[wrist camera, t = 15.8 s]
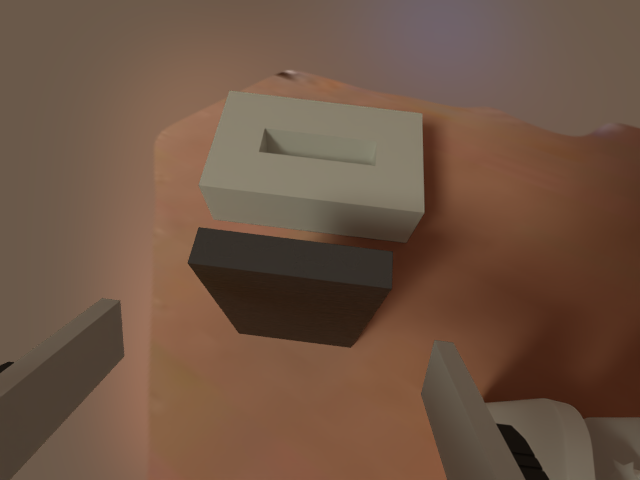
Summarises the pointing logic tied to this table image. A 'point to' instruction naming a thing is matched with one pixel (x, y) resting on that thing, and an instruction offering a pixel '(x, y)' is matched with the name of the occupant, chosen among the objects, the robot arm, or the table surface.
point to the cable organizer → (574, 439)
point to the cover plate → (292, 285)
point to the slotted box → (316, 167)
